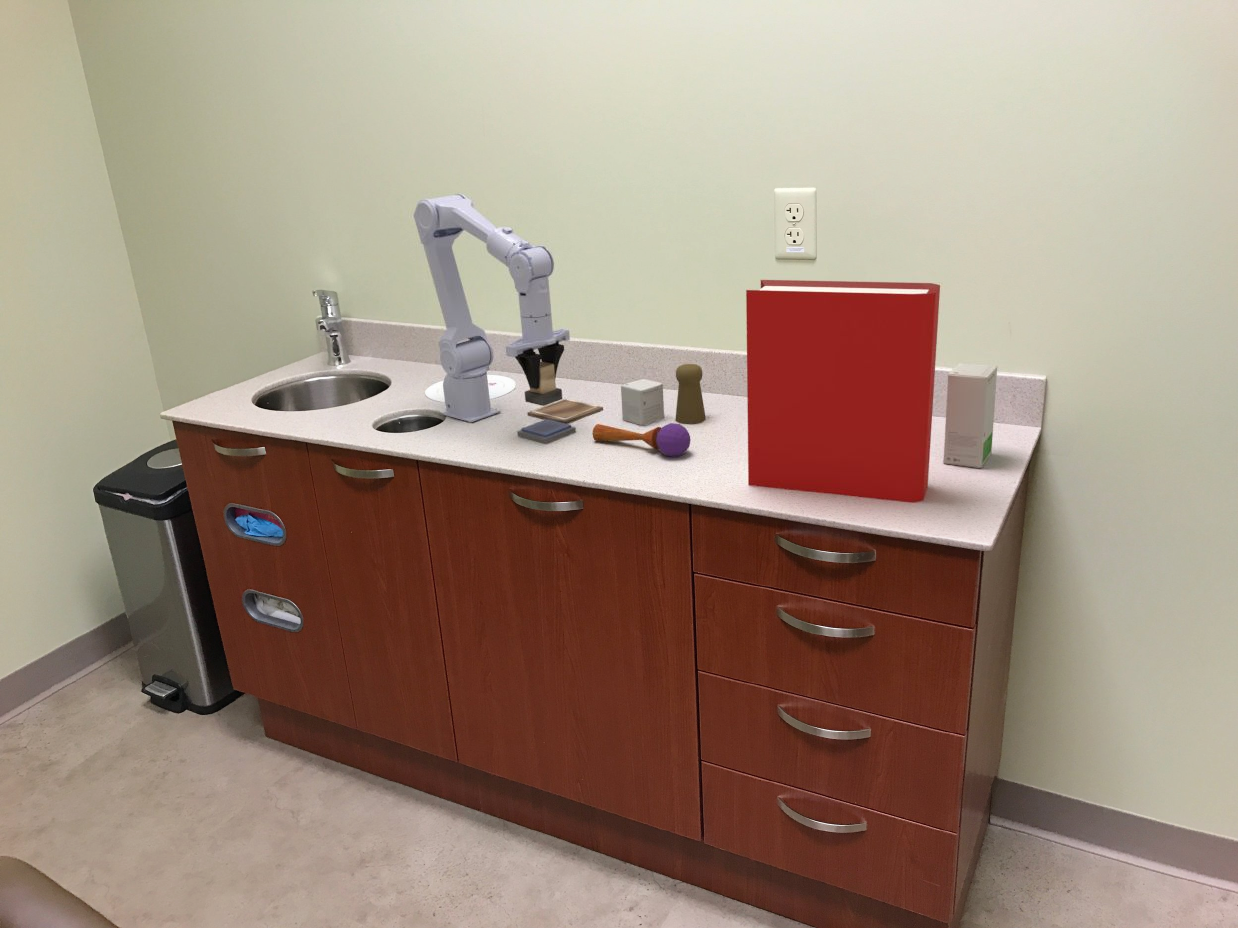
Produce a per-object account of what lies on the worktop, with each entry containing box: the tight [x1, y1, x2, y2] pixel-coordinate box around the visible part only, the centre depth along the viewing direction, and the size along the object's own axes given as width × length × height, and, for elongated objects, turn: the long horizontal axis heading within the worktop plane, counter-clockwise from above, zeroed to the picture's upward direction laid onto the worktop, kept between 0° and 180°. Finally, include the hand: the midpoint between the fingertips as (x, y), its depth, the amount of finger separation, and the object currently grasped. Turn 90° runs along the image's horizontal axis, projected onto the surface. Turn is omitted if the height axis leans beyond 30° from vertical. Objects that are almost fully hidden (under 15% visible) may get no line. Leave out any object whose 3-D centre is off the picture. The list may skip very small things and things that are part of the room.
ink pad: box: [516, 419, 577, 445], centre depth 186 cm, size 8×8×2 cm
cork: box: [675, 363, 707, 425], centre depth 188 cm, size 6×6×11 cm
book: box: [745, 279, 941, 504], centre depth 149 cm, size 27×8×32 cm, turn 66°
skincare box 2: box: [942, 362, 998, 469], centre depth 159 cm, size 8×7×16 cm
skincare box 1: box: [620, 378, 665, 426], centre depth 190 cm, size 6×6×7 cm
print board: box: [526, 398, 604, 424], centre depth 198 cm, size 11×11×1 cm
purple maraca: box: [592, 422, 691, 458], centre depth 175 cm, size 6×6×20 cm
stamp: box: [524, 361, 563, 407], centre depth 183 cm, size 5×5×7 cm
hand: (542, 385), depth 183 cm, fingers closed on stamp, 3 cm apart
